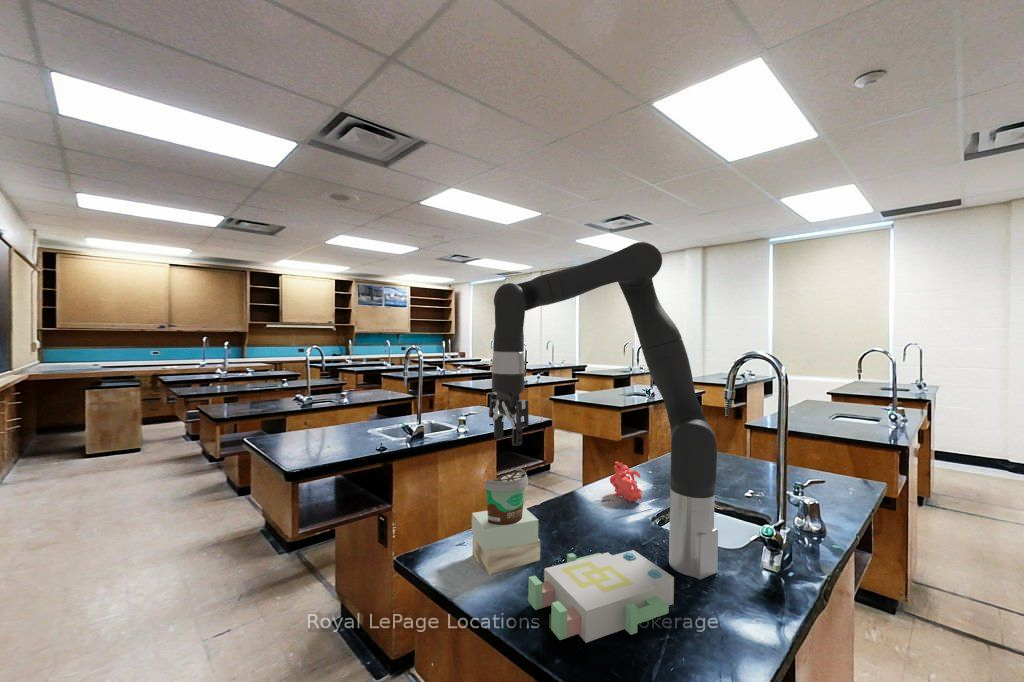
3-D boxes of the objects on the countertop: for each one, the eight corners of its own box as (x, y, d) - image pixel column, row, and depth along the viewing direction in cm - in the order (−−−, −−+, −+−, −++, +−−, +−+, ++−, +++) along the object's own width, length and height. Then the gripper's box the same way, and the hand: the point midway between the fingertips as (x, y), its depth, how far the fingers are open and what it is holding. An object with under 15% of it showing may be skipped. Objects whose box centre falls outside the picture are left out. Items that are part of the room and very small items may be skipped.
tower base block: (540, 561, 97) (540, 540, 97) (489, 576, 91) (489, 553, 91) (520, 544, 105) (520, 524, 105) (472, 557, 99) (472, 535, 99)
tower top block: (538, 541, 97) (538, 519, 97) (484, 552, 92) (484, 529, 91) (521, 525, 105) (522, 505, 105) (471, 534, 100) (472, 513, 100)
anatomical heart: (637, 511, 130) (632, 476, 128) (605, 499, 139) (600, 467, 137) (652, 497, 135) (648, 463, 133) (621, 487, 144) (616, 455, 142)
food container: (505, 533, 90) (506, 486, 90) (483, 524, 93) (484, 479, 93) (537, 514, 100) (538, 472, 99) (516, 507, 103) (517, 466, 103)
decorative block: (620, 538, 96) (692, 585, 78) (619, 566, 96) (691, 620, 78) (518, 562, 85) (574, 624, 67) (518, 594, 85) (574, 664, 67)
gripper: (539, 373, 93) (538, 446, 93) (507, 368, 106) (506, 433, 106) (509, 374, 89) (508, 450, 90) (480, 369, 102) (479, 436, 102)
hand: (507, 441), depth 98 cm, fingers open, 8 cm apart
